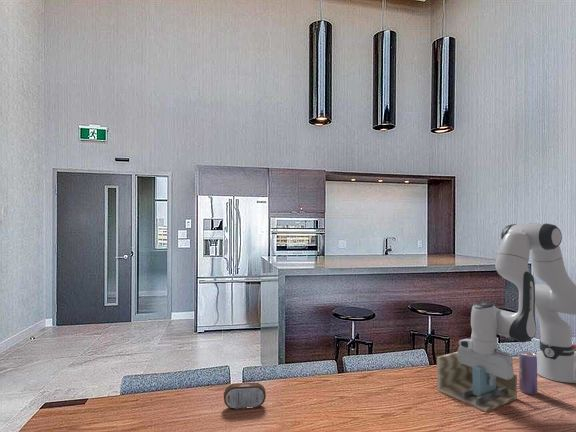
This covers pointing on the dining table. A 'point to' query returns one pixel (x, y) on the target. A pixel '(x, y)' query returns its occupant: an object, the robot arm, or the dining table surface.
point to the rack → (471, 384)
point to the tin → (244, 395)
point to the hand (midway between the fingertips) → (484, 382)
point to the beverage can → (528, 372)
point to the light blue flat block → (481, 381)
